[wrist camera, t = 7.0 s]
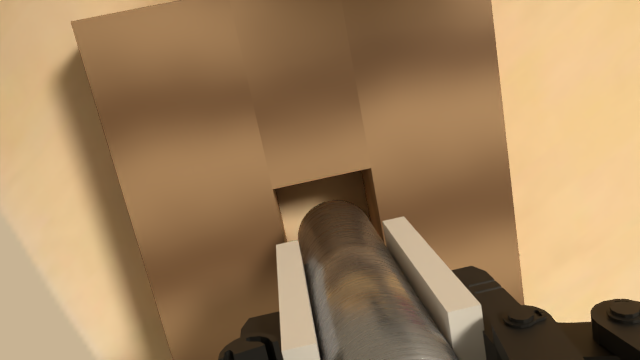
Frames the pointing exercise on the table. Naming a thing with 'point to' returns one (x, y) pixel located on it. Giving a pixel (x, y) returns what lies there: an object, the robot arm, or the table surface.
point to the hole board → (296, 138)
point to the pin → (362, 292)
